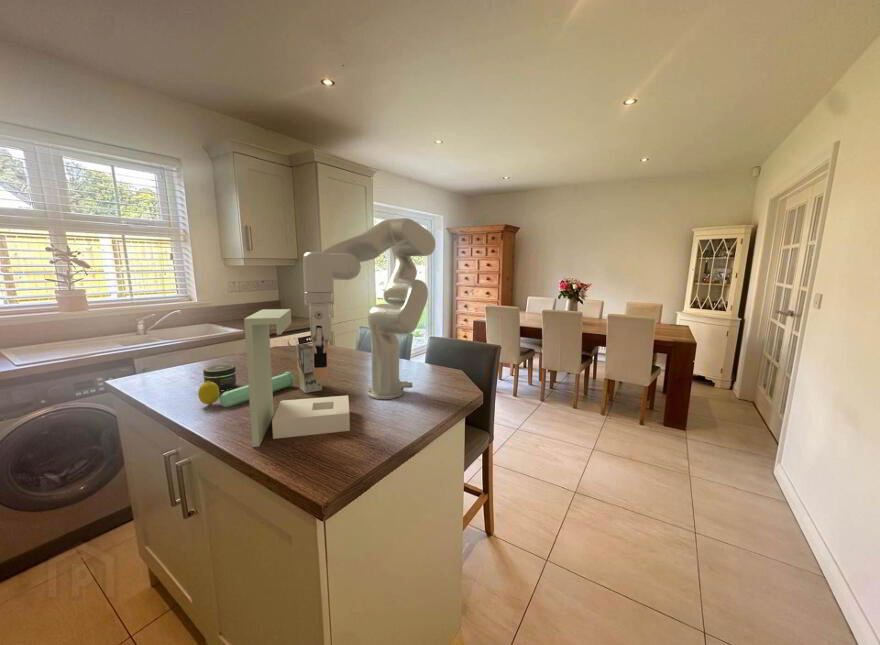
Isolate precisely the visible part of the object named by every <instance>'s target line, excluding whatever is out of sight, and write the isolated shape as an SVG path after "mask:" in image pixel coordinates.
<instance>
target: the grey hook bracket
mask: <svg viewBox="0 0 880 645" xmlns="http://www.w3.org/2000/svg"><path fill="white" fill-rule="evenodd" d="M291 310H292V309H291V308H286V309H285V308H279V309H276V308H275V309H273V308H272V309H270V308H269V309H267V308H266V309H260V310H258V311H257V312H254V313H252V314H251V315H249V316H246V317H245V318H243V321H244V339H245V351H246V352H245V353H246V370H247V382H248V383H247V385H248V386H249V400H248V402H249V414H250V416H249V417H250V429H251V444H252V448H258V447H260V445H261V443H262V441H263V439H264V437H265V435H266V433H267V431H268V428H269V426H270V424H271V423H272V419H273V417H274V415H275V413H274V411H275V410H274V397H273V395H274V392H273V390H272V377H273V375H272V374H273V372H272V360H271V359H272V358H271V355H272V354H271V339H270V338H271V337H270V325H275V328H276V336H277V335H278V336H280V335H282V334H283V333H284V331H286V329H287V328H288V327H289V326H290V325H291V324H292V311H291Z"/></svg>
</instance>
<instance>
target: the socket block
mask: <svg viewBox="0 0 880 645" xmlns="http://www.w3.org/2000/svg"><path fill="white" fill-rule="evenodd" d="M349 402H350V401H349V395H348V394H347V395H339V396H338V395H337V396H336V395H335V396H326V397H325V396H324V397H323V396H322V397H313V398H301V399H300V398H299V399H287V400H280V402H279V404H278V406H277V407H276V411H275V413H274V415H273V418H272V420H271V425H272V426H271V427H272V440H273V439H274V440H275V439H283V438H293V437H294V438H295V437H304V436H312V435H321V434H322V435H323V434H333V433H339V432H340V433H343V432H349V431H351V424H350V421H351V420H350V417H351V416H350V403H349Z"/></svg>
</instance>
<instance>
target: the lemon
mask: <svg viewBox="0 0 880 645" xmlns="http://www.w3.org/2000/svg"><path fill="white" fill-rule="evenodd" d="M220 392H221V391H220ZM220 392H219V388H218V386H217V384H215V383H214V382H210V381H207V382H206V383H204V382H203V383H202V384H201V385H200V387H199V390H198V393H197V394H198V398H199V400H200V402H201V403H203V404H205V405H208V406H209V405H210V406H212V405H213V404H215V403H216V402H217V401H218V400H219V399H220Z"/></svg>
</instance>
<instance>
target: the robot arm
mask: <svg viewBox="0 0 880 645" xmlns="http://www.w3.org/2000/svg"><path fill="white" fill-rule="evenodd" d="M389 249H391V251H392V256H393V260H394V268H393V270H392V273H391V275H390V277H389V279H388V281H387V283H386V286H385V289H384V291H383V299H384V301H385V302H386V303H379V304H375V305H374V306H372V307H371V308H370V309H369V311H368V314H367V322H368V324H367V325H368V328H369V334H370V342H371V347H370V349H371V351H370V352H371V358H370V359H371V387H370V388H368V389H367V391H366V392H367V396H368V397H369V398H372V399H376V400H391V399H392V400H393V399H397V398H399V397H402V395H403V394H404V393H403V392H404V389H411V388H413V387H414V386H413V382H412V381H411V382H409V381H408V380H403V381H401V380H400V342H399V338H398V337H397V334H398V335H410V334H412V333H413V332H414V331H415V330H416V329H417V327H418V324H419V322H420V320H421V318H422V314H423V312H424V309H425V307H426V306H427V302H428V296H429V290H428V287H427V286H428V285H427V284H426V283H425V282H424V281H423V280H421V279H417V278H416V277H417V276H418V274H417V272H418V271H417V268H416V265H415V263H414V261H413V259H412V257H428V256H430V255H432V254H433V253H434V251H435V249H436V239H435V237H434V235H433V234H432V233H431V232H430V231H429V230H428V229H426V228H425V227H424V226H423V225H421V224H420V223H418V222H416V221H415V220H413V219H411V218H406V217H405V218H402V217H401V218H391V219H390V218H389V219H385V220H382V221H380V222H379V223H377V224H375V225H373V226H372V227H371V228H369V229H367V230H366V231H364V232H363V233H361V234H358V235H355V236H353V237H350V238H348V239H345V240H342V241H340V242H338V243H334V244H333V245H331V246H329V247H327V248H326V249H324V250H322V251H309V252H305V253H304V254H303V257H302V260H303V261H302V265H303V266H302V267H303V269H302V270H303V291H304V292H303V296H304V297H303V298H304V302H303V303H304V305H306V306H309V307H308V308H309V310H308V311H309V328H310V329H309V331H310V341H311V343H313V342H314V348H315V353H314V367H315V368H322V367H327V352H326V351H325V343H326V342H325V340H328V343H330V342H331V340H332V316H331V315H332V314H331V311H332V310H331V305H335V294H334V293H335V291H334V280H336V281H337V280H338V281H348V280H354V279H356V278H357V277H358V275H359V274H360V273H361V268H362V267H361V266H362V265H361V263H363V262H367V261H371V260H375V259H377V258H379V257H380V256H381V255H383V254H385V252H386V251H387V250H389ZM313 337H314V338H313ZM316 339H317V341H316ZM322 339H324V341H322ZM396 397H397V398H396Z"/></svg>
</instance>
